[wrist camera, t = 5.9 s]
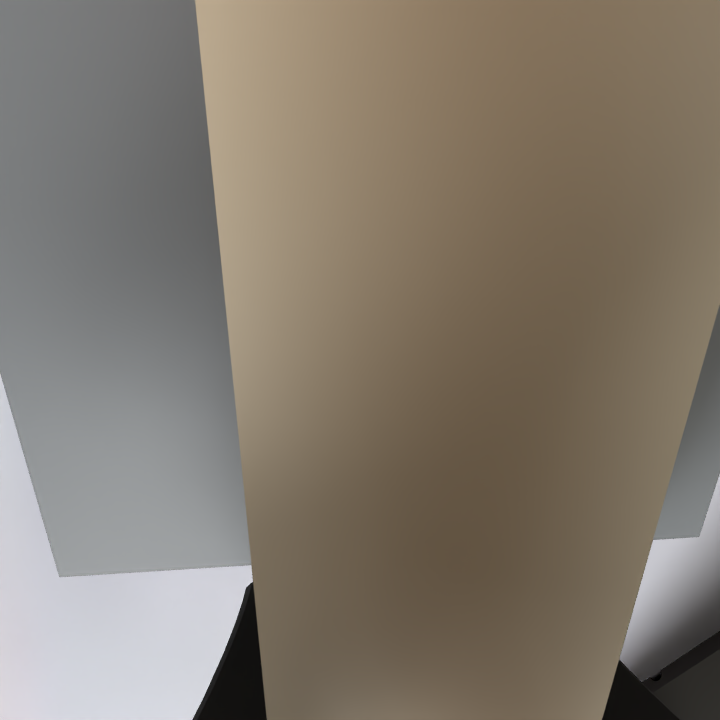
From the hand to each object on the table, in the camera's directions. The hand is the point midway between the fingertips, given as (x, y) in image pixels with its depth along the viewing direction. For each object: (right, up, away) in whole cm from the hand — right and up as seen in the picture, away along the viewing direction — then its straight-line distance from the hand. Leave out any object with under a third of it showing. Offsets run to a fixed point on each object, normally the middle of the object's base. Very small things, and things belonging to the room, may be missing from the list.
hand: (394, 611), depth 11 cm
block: (0, +5, -2) cm, 5 cm away
